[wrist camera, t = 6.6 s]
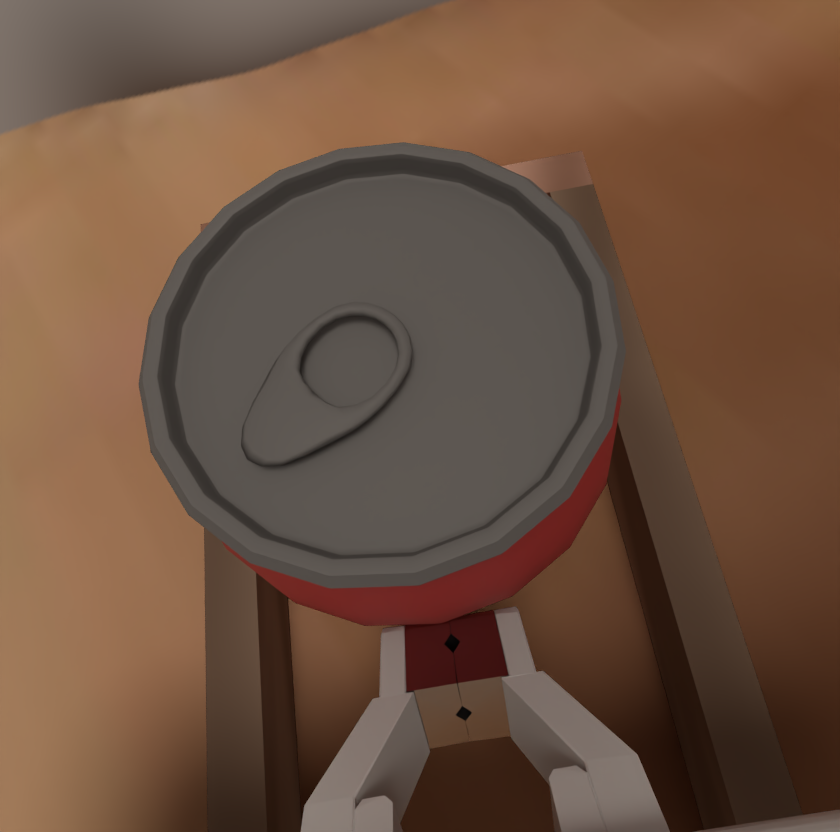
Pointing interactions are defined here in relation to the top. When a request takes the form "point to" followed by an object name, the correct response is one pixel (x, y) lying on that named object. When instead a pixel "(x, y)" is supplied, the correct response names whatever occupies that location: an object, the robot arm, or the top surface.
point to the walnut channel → (654, 576)
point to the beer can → (388, 381)
